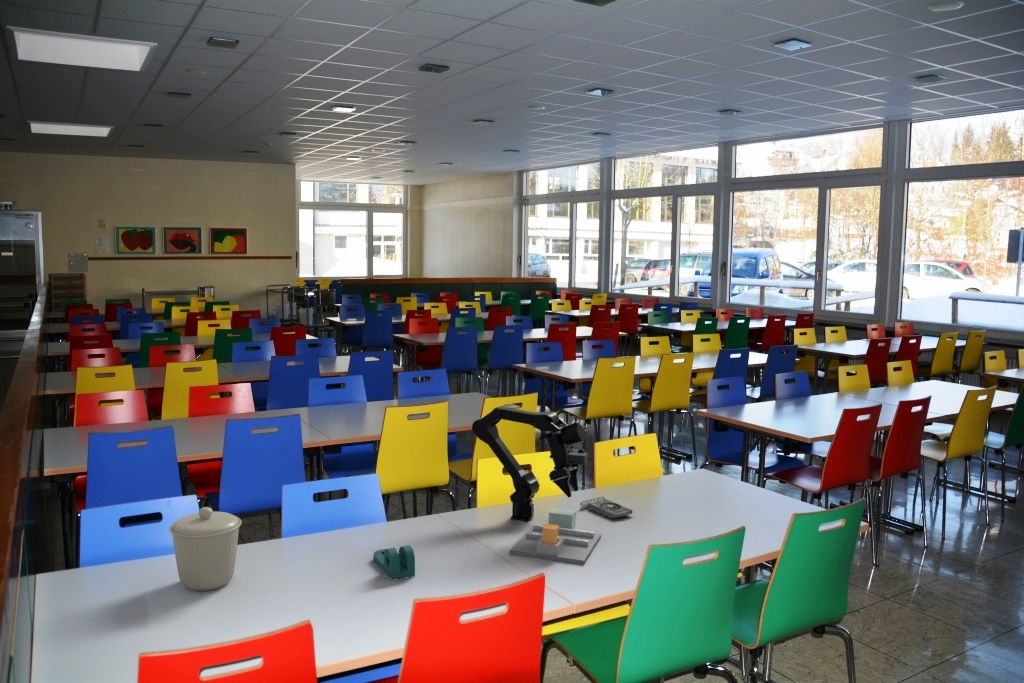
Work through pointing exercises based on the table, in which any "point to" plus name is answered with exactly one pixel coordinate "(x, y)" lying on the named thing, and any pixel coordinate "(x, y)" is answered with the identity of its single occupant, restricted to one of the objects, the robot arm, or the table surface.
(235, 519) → the canister
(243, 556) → the table surface
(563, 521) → the block
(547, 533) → the button
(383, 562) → the bracket
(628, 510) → the graphics card
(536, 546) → the rail board
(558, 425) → the robot arm
